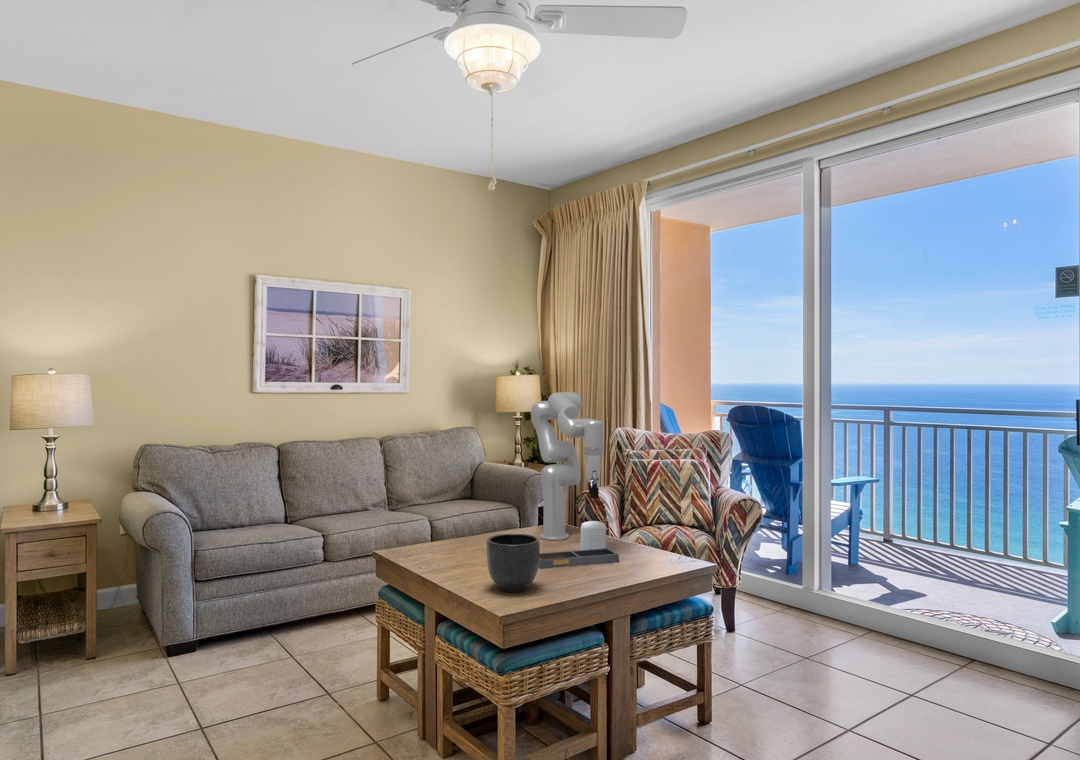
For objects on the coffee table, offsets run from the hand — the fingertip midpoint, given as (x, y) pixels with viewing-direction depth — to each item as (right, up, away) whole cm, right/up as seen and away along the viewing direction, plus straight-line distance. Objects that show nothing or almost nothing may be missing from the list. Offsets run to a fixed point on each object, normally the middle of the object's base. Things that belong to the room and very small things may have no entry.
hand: (593, 496), depth 262 cm
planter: (-29, -23, -43) cm, 57 cm away
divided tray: (-7, -23, -10) cm, 26 cm away
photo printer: (0, -23, +5) cm, 24 cm away
